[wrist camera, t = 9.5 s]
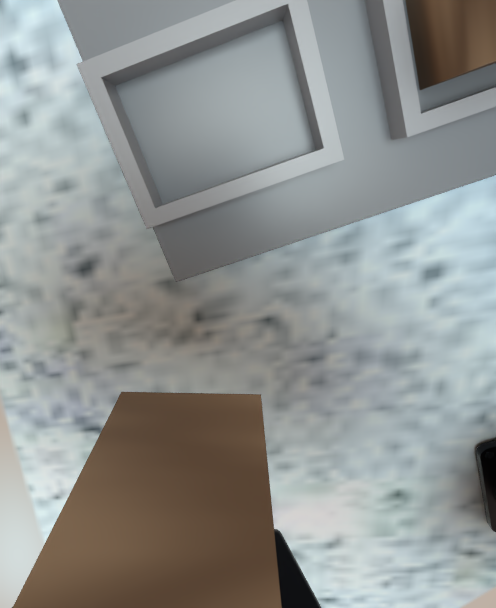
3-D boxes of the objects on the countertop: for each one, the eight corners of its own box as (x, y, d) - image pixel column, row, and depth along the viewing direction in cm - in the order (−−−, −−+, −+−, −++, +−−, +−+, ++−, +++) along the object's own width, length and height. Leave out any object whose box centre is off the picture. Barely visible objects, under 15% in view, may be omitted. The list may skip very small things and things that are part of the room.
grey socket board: (579, 141, 16) (636, 137, 14) (179, 275, 18) (170, 293, 16) (567, -207, 13) (642, -292, 10) (65, 2, 14) (31, -29, 12)
